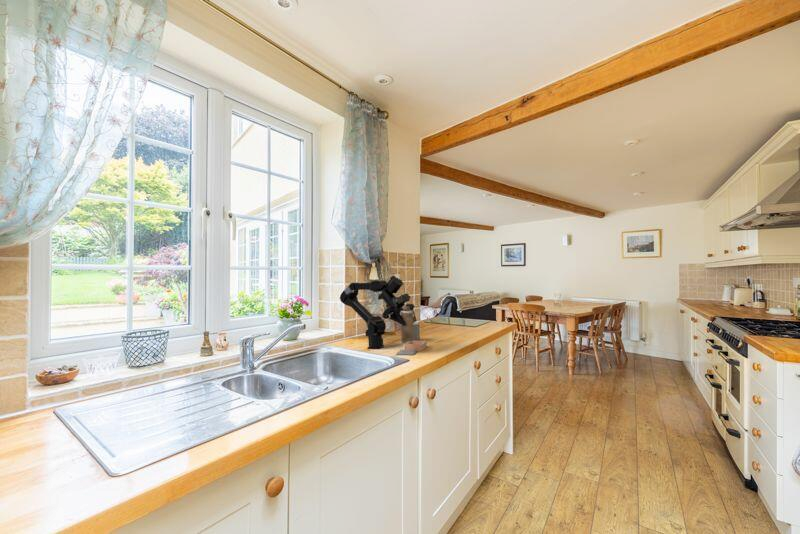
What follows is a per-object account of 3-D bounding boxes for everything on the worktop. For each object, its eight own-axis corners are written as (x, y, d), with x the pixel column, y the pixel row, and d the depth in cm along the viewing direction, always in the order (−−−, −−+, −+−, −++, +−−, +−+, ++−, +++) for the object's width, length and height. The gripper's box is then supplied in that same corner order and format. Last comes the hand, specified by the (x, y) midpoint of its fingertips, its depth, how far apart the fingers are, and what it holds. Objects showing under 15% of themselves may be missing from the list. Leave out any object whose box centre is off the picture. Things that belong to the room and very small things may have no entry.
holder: (404, 350, 163) (404, 344, 163) (410, 346, 171) (409, 340, 171) (422, 350, 160) (421, 344, 160) (426, 346, 168) (426, 340, 168)
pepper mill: (398, 340, 158) (398, 306, 158) (406, 338, 162) (406, 305, 162) (408, 341, 154) (407, 307, 154) (416, 339, 158) (415, 305, 159)
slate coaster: (396, 354, 154) (396, 353, 154) (400, 350, 162) (400, 349, 162) (413, 355, 152) (413, 353, 152) (417, 351, 160) (416, 349, 160)
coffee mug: (414, 344, 175) (413, 325, 176) (398, 343, 181) (397, 324, 181) (426, 339, 187) (425, 321, 187) (410, 338, 192) (410, 320, 192)
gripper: (386, 289, 154) (406, 315, 147) (411, 287, 168) (430, 310, 161) (374, 306, 159) (392, 331, 152) (399, 302, 173) (417, 325, 166)
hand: (409, 324), depth 157 cm, fingers closed on pepper mill, 6 cm apart
